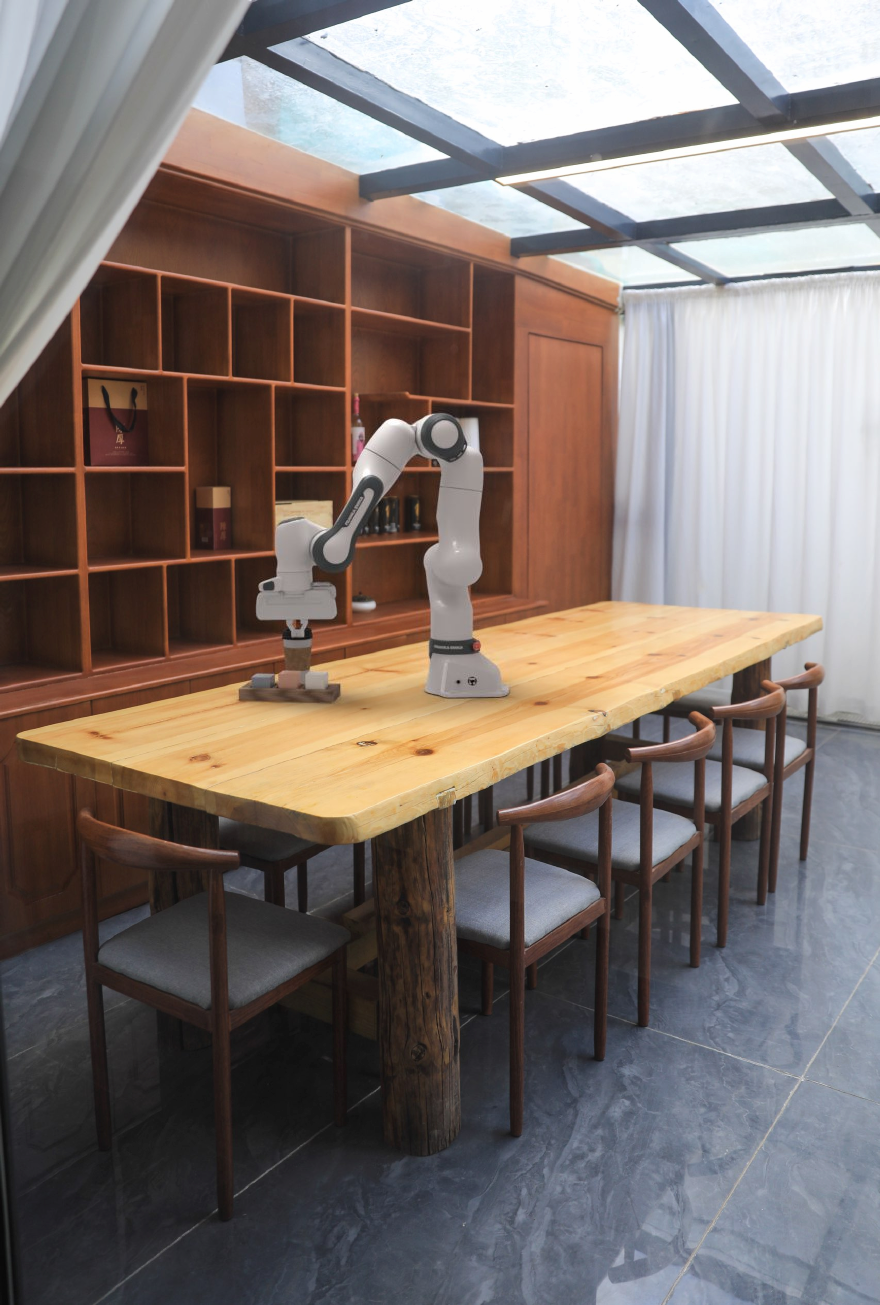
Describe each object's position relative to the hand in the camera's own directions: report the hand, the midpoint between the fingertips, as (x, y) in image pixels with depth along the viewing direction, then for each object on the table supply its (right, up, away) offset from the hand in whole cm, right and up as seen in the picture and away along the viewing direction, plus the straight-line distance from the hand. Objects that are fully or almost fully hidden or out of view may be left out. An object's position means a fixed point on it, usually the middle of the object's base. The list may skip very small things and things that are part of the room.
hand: (298, 636), depth 258 cm
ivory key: (+5, -13, +1) cm, 14 cm away
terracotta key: (-2, -13, +2) cm, 13 cm away
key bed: (-2, -16, +2) cm, 16 cm away
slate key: (-9, -14, +3) cm, 17 cm away
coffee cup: (-3, -12, +22) cm, 26 cm away
